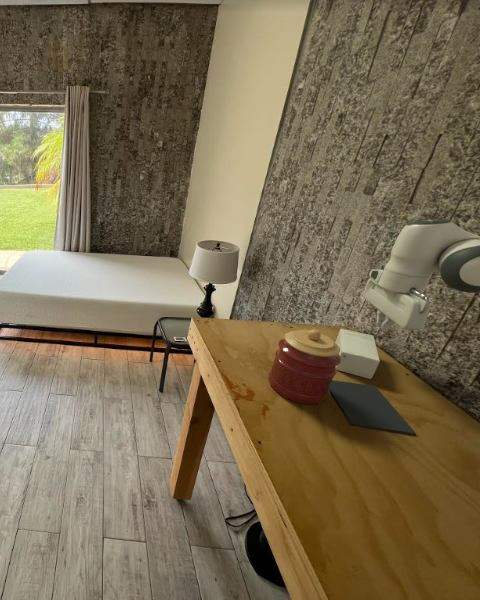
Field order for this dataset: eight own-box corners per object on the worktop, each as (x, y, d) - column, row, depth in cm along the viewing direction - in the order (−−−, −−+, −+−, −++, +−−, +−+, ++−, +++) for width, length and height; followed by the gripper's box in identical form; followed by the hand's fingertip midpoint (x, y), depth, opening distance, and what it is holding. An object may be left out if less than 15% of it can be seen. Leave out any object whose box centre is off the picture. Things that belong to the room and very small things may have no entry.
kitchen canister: (327, 385, 84) (351, 327, 77) (323, 413, 75) (348, 351, 68) (272, 366, 92) (289, 312, 84) (262, 390, 83) (279, 332, 75)
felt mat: (374, 387, 83) (375, 385, 83) (415, 435, 69) (416, 433, 69) (322, 380, 86) (322, 378, 86) (351, 425, 72) (352, 423, 72)
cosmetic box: (333, 344, 101) (332, 369, 90) (340, 326, 98) (340, 350, 87) (367, 353, 97) (371, 381, 86) (376, 334, 94) (380, 361, 83)
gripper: (448, 299, 73) (421, 349, 78) (393, 269, 90) (375, 312, 96) (414, 296, 74) (390, 346, 80) (367, 268, 92) (350, 310, 98)
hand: (381, 327), depth 88 cm, fingers closed
